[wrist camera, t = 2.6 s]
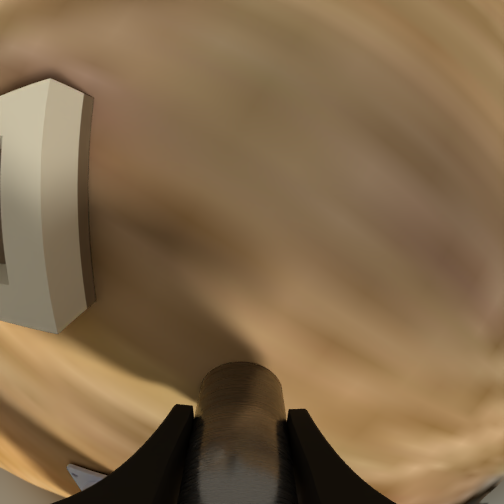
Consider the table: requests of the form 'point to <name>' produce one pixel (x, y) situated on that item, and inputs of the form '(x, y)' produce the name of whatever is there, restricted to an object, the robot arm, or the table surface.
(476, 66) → the table surface
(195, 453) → the pin
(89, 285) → the board
